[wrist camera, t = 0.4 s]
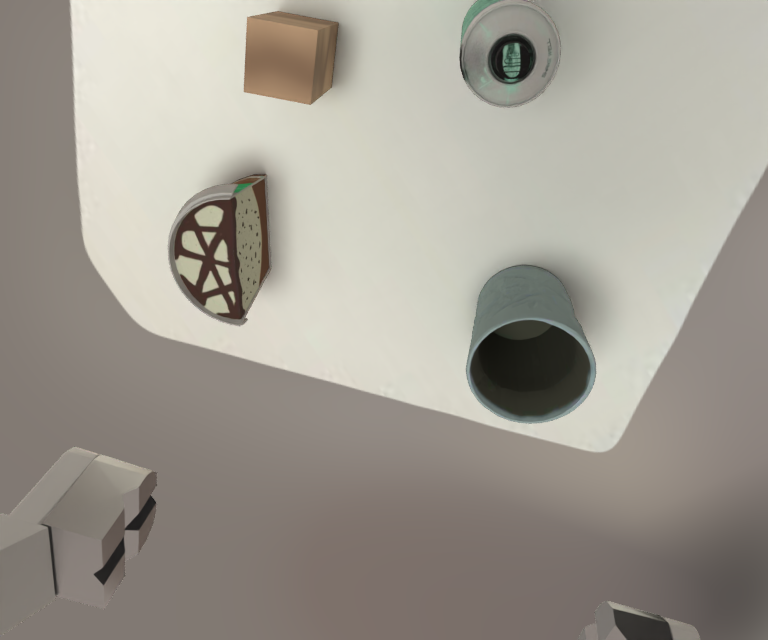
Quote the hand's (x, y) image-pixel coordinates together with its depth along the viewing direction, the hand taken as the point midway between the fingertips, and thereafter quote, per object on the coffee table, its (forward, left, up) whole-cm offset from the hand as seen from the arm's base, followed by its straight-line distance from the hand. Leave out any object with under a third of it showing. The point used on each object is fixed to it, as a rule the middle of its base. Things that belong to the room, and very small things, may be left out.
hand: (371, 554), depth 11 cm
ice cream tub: (+14, -17, -47) cm, 52 cm away
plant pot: (+17, +11, -47) cm, 51 cm away
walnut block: (-2, -12, -47) cm, 48 cm away
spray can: (-6, +3, -47) cm, 47 cm away
